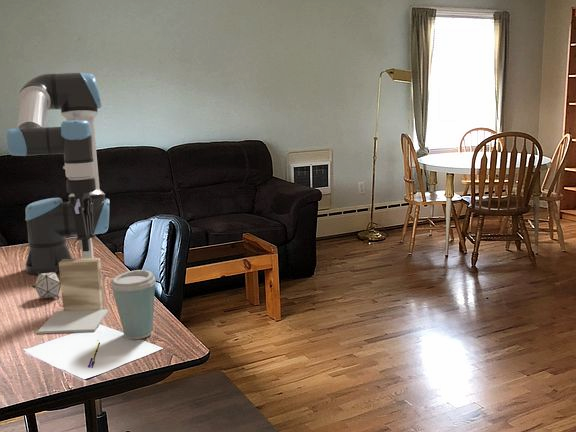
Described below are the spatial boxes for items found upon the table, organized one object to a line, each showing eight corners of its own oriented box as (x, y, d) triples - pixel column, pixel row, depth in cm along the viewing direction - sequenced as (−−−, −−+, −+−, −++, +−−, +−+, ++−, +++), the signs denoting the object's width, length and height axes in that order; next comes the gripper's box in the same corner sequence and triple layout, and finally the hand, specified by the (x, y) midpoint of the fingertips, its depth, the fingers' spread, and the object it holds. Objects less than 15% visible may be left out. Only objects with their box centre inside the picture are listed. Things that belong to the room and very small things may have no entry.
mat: (55, 313, 167) (55, 311, 167) (108, 311, 167) (108, 309, 167) (37, 333, 153) (37, 331, 153) (94, 331, 154) (94, 329, 154)
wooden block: (67, 308, 171) (62, 259, 168) (104, 307, 171) (100, 257, 168) (63, 313, 167) (58, 262, 164) (101, 311, 168) (96, 261, 165)
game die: (53, 312, 179) (50, 292, 172) (27, 301, 180) (22, 280, 173) (71, 289, 185) (68, 269, 178) (46, 278, 186) (42, 257, 179)
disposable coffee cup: (139, 346, 144) (134, 284, 141) (105, 338, 149) (99, 278, 146) (168, 330, 153) (164, 272, 150) (135, 323, 158) (131, 266, 155)
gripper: (73, 174, 176) (81, 255, 180) (58, 181, 163) (67, 268, 168) (100, 174, 176) (107, 254, 181) (87, 180, 163) (95, 267, 168)
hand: (88, 261), depth 174 cm, fingers closed
